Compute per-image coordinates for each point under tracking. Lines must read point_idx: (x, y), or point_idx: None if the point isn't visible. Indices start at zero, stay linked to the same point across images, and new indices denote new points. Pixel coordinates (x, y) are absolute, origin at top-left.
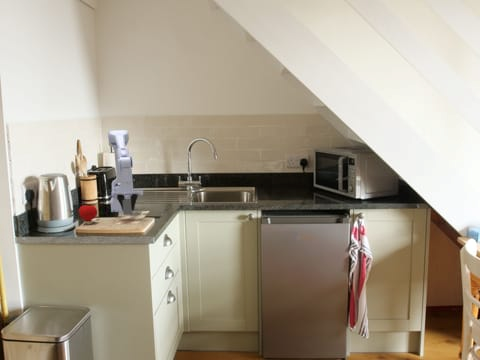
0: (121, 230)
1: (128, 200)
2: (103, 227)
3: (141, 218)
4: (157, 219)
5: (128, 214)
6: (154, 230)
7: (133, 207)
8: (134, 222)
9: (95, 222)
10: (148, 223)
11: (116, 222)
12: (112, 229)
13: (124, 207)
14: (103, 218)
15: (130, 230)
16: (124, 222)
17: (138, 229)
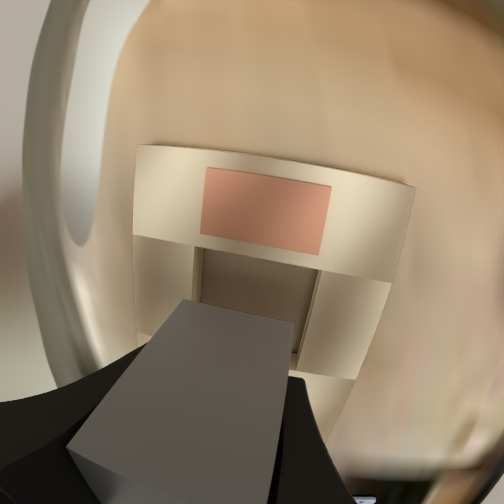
0: (297, 28)
1: (117, 464)
2: (479, 209)
3: (145, 329)
4: (74, 330)
5: (226, 309)
6: (55, 26)
7: (120, 359)
8: (177, 188)
9: (495, 382)
10: (95, 234)
11: (377, 250)
12: (396, 93)
13: (257, 387)
14: (430, 454)
15: (210, 16)
16: (283, 190)
17: (146, 42)
